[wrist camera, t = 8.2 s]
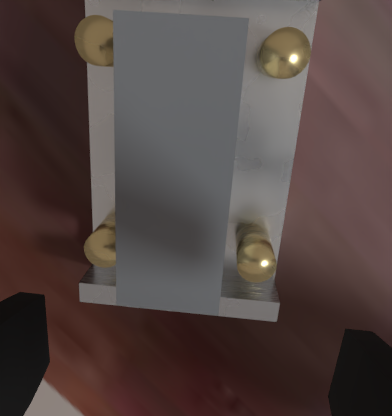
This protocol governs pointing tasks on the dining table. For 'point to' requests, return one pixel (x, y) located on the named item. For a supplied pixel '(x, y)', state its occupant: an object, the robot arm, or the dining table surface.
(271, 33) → the pin tray
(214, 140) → the block
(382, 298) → the dining table surface
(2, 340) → the robot arm
